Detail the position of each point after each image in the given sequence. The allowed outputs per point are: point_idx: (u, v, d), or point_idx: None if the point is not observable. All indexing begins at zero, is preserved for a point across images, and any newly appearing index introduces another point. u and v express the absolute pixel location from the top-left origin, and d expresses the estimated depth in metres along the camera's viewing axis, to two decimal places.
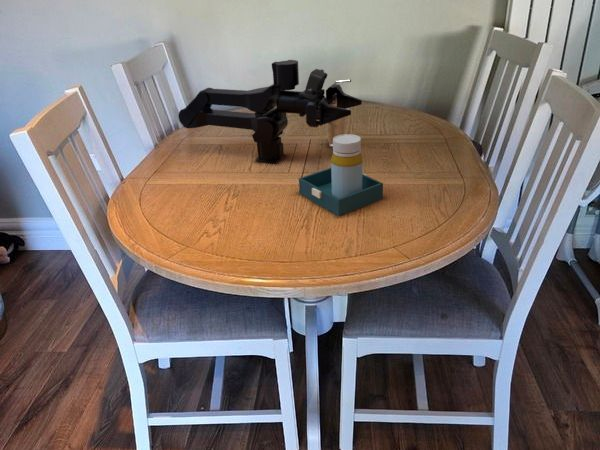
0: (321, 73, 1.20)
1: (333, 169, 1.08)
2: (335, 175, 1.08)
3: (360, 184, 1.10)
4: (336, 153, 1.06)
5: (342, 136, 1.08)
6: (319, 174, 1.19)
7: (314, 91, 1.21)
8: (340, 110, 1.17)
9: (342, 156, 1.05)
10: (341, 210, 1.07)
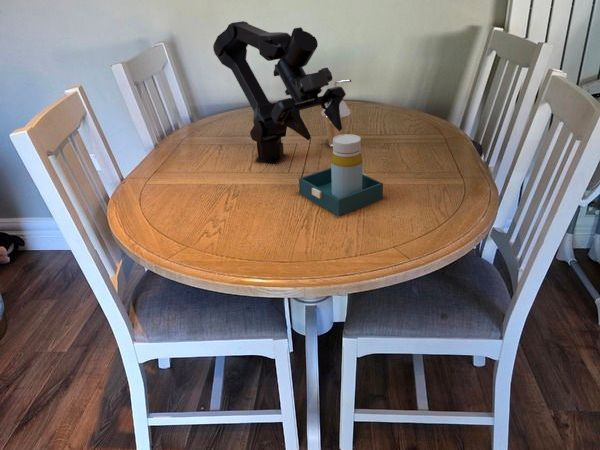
0: (321, 81, 1.08)
1: (333, 169, 1.08)
2: (335, 175, 1.08)
3: (360, 184, 1.10)
4: (336, 153, 1.06)
5: (342, 136, 1.08)
6: (319, 174, 1.19)
7: (303, 90, 1.10)
8: (302, 130, 1.10)
9: (342, 156, 1.05)
10: (341, 210, 1.07)
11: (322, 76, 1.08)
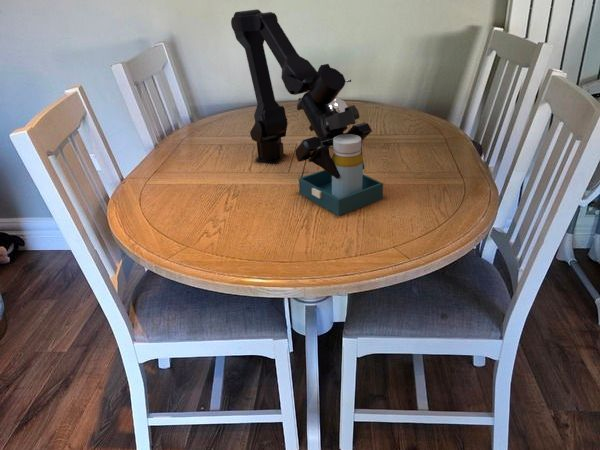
0: (348, 120, 1.04)
1: None
2: None
3: (360, 184, 1.10)
4: (336, 153, 1.06)
5: (343, 136, 1.08)
6: (319, 174, 1.19)
7: (329, 128, 1.06)
8: (332, 168, 1.07)
9: (342, 156, 1.05)
10: (341, 210, 1.07)
11: (349, 115, 1.04)
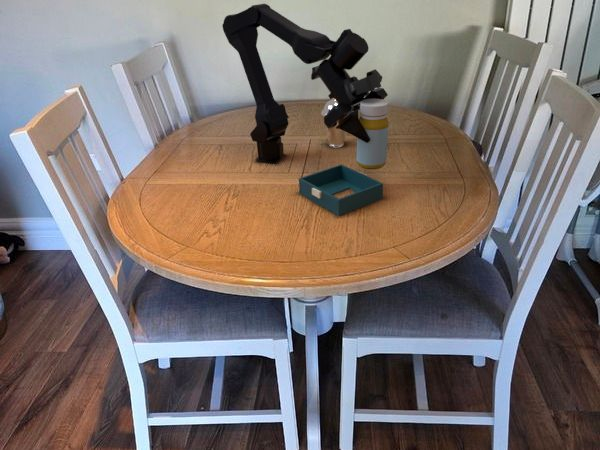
0: (375, 83, 1.06)
1: None
2: None
3: (386, 147, 1.12)
4: (366, 117, 1.07)
5: (367, 101, 1.10)
6: (319, 174, 1.19)
7: (356, 93, 1.07)
8: (362, 132, 1.08)
9: (373, 119, 1.07)
10: (341, 210, 1.07)
11: (376, 78, 1.06)
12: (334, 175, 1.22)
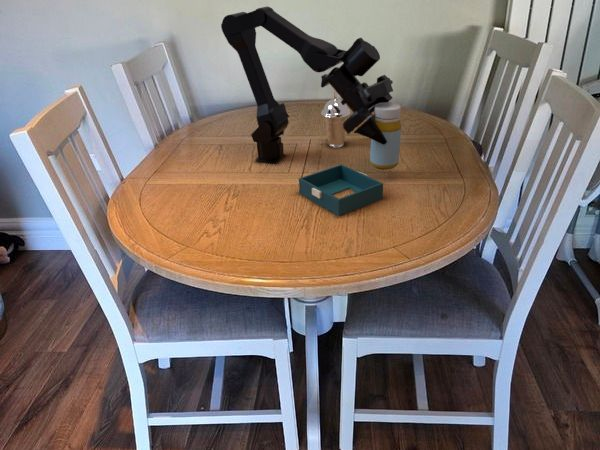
0: (389, 88, 1.12)
1: None
2: None
3: None
4: (382, 120, 1.13)
5: (380, 105, 1.15)
6: (319, 174, 1.19)
7: (371, 98, 1.13)
8: (379, 135, 1.14)
9: (389, 122, 1.13)
10: (341, 210, 1.07)
11: (389, 83, 1.12)
12: (334, 175, 1.22)
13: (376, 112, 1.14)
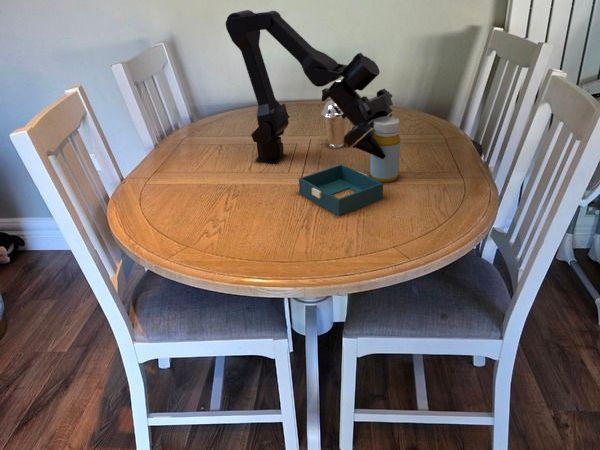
0: (389, 102, 1.14)
1: None
2: None
3: None
4: (381, 134, 1.15)
5: (379, 119, 1.17)
6: (319, 174, 1.19)
7: (371, 112, 1.14)
8: (378, 150, 1.14)
9: (388, 136, 1.15)
10: (341, 210, 1.07)
11: (388, 97, 1.14)
12: (334, 175, 1.22)
13: (375, 127, 1.15)
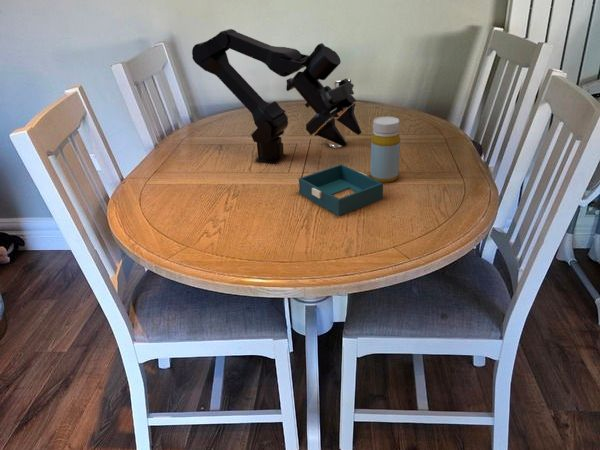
0: (349, 91, 1.17)
1: (378, 150, 1.17)
2: (380, 155, 1.17)
3: None
4: (381, 134, 1.15)
5: (379, 119, 1.17)
6: (319, 174, 1.19)
7: (332, 101, 1.18)
8: (339, 137, 1.18)
9: (388, 136, 1.15)
10: (341, 210, 1.07)
11: (349, 87, 1.18)
12: (334, 175, 1.22)
13: (375, 127, 1.15)
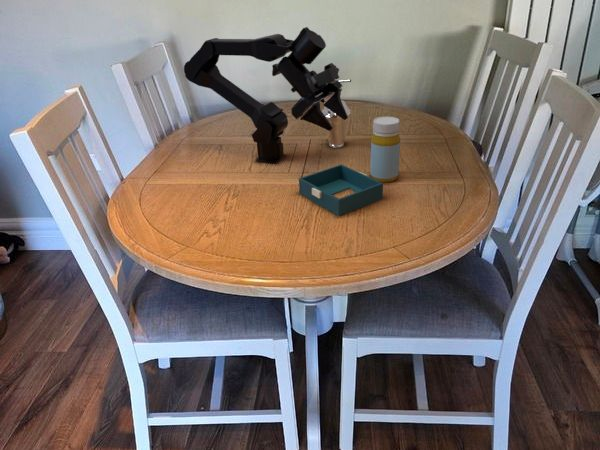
0: (335, 75, 1.17)
1: (378, 150, 1.17)
2: (380, 155, 1.17)
3: None
4: (381, 134, 1.15)
5: (379, 119, 1.17)
6: (319, 174, 1.19)
7: (317, 85, 1.18)
8: (325, 121, 1.18)
9: (388, 136, 1.15)
10: (341, 210, 1.07)
11: (334, 70, 1.18)
12: (334, 175, 1.22)
13: (375, 127, 1.15)
